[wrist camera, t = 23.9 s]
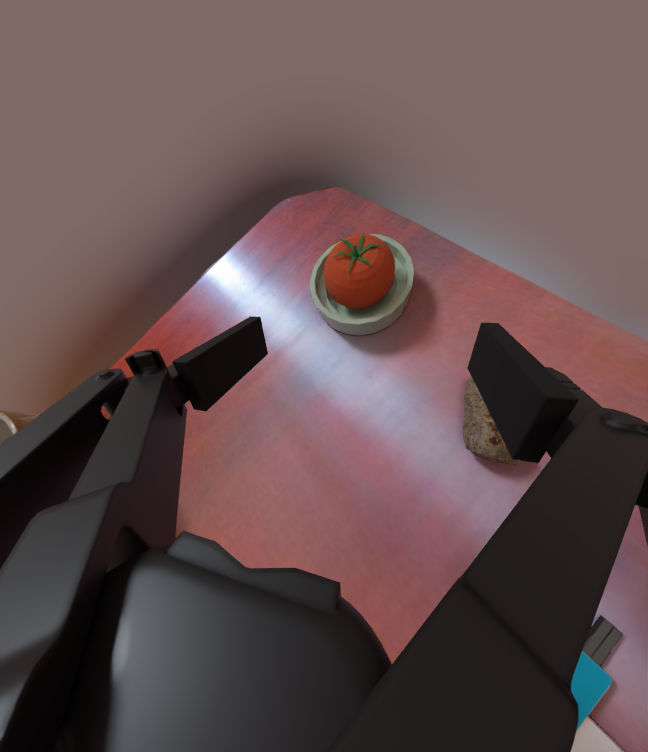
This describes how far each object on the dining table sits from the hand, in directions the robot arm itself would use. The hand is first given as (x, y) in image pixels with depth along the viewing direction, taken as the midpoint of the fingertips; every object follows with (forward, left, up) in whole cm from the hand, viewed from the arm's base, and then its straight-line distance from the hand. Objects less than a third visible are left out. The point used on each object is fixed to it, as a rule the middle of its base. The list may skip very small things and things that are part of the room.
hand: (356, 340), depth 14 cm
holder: (+13, -11, -21) cm, 27 cm away
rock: (-13, -9, -21) cm, 26 cm away
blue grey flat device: (-35, +9, -21) cm, 42 cm away
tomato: (+13, -11, -21) cm, 27 cm away
